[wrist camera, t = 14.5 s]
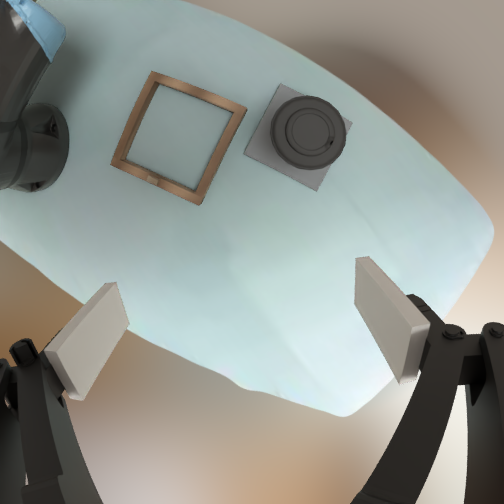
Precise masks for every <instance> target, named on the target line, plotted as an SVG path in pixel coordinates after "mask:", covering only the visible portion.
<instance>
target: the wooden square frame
mask: <svg viewBox="0 0 504 504" xmlns="http://www.w3.org/2000/svg"><path fill="white" fill-rule="evenodd" d="M159 84H161V85H164V86H167V87H170V88H173V89H175V90H178V91H181V92H183V93H186V94H189V95H191V96H194V97H196V98H199V99H201V100H204V101H206V102H209V103H211V104H213V105H216V106H218V107H221V108H223V109H225V110H227V111H230V112H232V113H233V115H232V117H231V119H230V121H229V123H228V125H227V127H226V129H225V131H224V133H223V135H222V137H221V139H220V141H219V143H218V145H217V147H216V149H215V151H214V153H213V155H212V157H211V160H210V162H209V164H208V166H207V168H206V170H205V172H204V174H203V177H202V179H201V181H200V183H199V185H198V187H197V190H196V191H194V190H192V189H190V188H188V187H186V186H183V185H181V184H179V183H177V182H175V181H173V180H170V179H168V178H166V177H164V176H162V175H159V174H157V173H155V172H153V171H151V170H148V169H146V168H144V167H142V166H139V165H137V164H135V163H133V162H130V161H128V160H126V157H127V154H128V152H129V149H130V147H131V144H132V142H133V140H134V137H135V135H136V133H137V130H138V128H139V126H140V123H141V121H142V119H143V117H144V115H145V112H146V110H147V108H148V106H149V104H150V102H151V100H152V98H153V96H154V94H155V92H156V90H157V88H158V86H159ZM246 112H247V108H246V107H244V106H242V105H239V104H237V103H235V102H233V101H230V100H228V99H226V98H223V97H221V96H218V95H216V94H214V93H211V92H209V91H206V90H204V89H201V88H198V87H196V86H193V85H191V84H188V83H185V82H182V81H180V80H177V79H174V78H171V77H168V76H165V75H162V74H159V73H156V72H153V71H151V73H150V75H149V77H148V79H147V81H146V83H145V85H144V87H143V89H142V91H141V93H140V95H139V97H138V99H137V101H136V103H135V106H134V108H133V110H132V112H131V114H130V117H129V119H128V121H127V124H126V126H125V128H124V131H123V133H122V135H121V138H120V140H119V143H118V145H117V148H116V151H115V153H114V156H113V158H112V161H111V164H110V165H112V166H114V167H116V168H118V169H121V170H123V171H125V172H127V173H129V174H131V175H134V176H136V177H138V178H140V179H142V180H145V181H147V182H149V183H151V184H153V185H155V186H158V187H160V188H162V189H164V190H166V191H168V192H170V193H173V194H175V195H177V196H179V197H181V198H183V199H185V200H188V201H190V202H192V203H194V204H196V205H198V206H199V205H200V204H201V203H202V201H203V199H204V197H205V195H206V193H207V191H208V188H209V186H210V184H211V182H212V180H213V178H214V176H215V174H216V172H217V169H218V167H219V165H220V163H221V161H222V159H223V157H224V155H225V153H226V151H227V149H228V147H229V145H230V143H231V141H232V139H233V137H234V135H235V133H236V131H237V129H238V127H239V125H240V123H241V121H242V119H243V118H244V116H245V114H246Z"/></svg>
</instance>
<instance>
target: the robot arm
mask: <svg viewBox="0 0 504 504" xmlns="http://www.w3.org/2000/svg"><path fill="white" fill-rule="evenodd" d="M65 36H66V29H65V27H64V25H63V24H62V23H61V22H60V21H59V20H58V19H57V18H56V17H54V16H53V15H52V14H51V13H49V12H48V11H47V10H45V9H44V8H43V7H41V6H40V5H38V4H37V3H35V2H34V1H32V0H0V190H2V189H5V188H10V189H14V190H19V191H23V192H36V191H39V190H43V189H45V188H47V187H49V186H50V185H52V184H53V183H54V182H55V181H56V179H57V178H58V177H59V175H60V173H61V172H62V170H63V167H64V165H65V162H66V159H67V155H68V148H69V133H68V127H67V124H66V121H65V118H64V117H63V115H62V113H61V112H60V111H59V110H58V109H57V108H56V107H54V106H52V105H49V104H42V103H35V104H31V105H28V106H26V105H27V103H28V101H29V99H30V97H31V95H32V93H33V92H34V90H35V88H36V86H37V84H38V83H39V81H40V79H41V77H42V76H43V74H44V72H45V71H46V69H47V67H48V66H49V64H51V63H52V62H53V57H54V55H55V54H56V52H57V50H58V49H59V47H60V46H61V44H62V42H63V41H64V39H65ZM354 304H355V306H356V308H357V309H358V311H359V313H360V314H361V316H362V318H363V320H364V321H365V323H366V325H367V327H368V328H369V330H370V332H371V334H372V335H373V337H374V339H375V341H376V343H377V344H378V346H379V348H380V350H381V352H382V353H383V355H384V357H385V359H386V361H387V363H388V364H389V366H390V368H391V370H392V372H393V374H394V376H395V378H396V379H397V381H398V383H399V384H403V383H407V382H411V381H414V380H416V378H417V374H418V371H419V369H420V371H421V375H420V377H419V380H418V382H417V385H416V387H415V390H414V392H413V394H412V397H411V399H410V402H409V404H408V406H407V408H406V410H405V413H404V415H403V417H402V419H401V421H400V423H399V425H398V427H397V429H396V431H395V433H394V435H393V437H392V439H391V441H390V443H389V445H388V446H387V449H386V451H385V452H384V454H383V456H382V457H381V459H380V461H379V463H378V464H377V466H376V468H375V469H374V471H373V473H372V475H371V476H370V477H369V479H368V481H367V483H366V484H365V485H364V487H363V488H362V490H361V491H360V492H359V493H358V494H357V495H356V497H355V498H354V499H353V501H352V502H351V503H350V504H415V503H416V501H417V499H418V497H419V495H420V493H421V490H422V488H423V486H424V484H425V482H426V479H427V477H428V475H429V472H430V470H431V468H432V465H433V463H434V460H435V458H436V455H437V452H438V450H439V447H440V444H441V441H442V438H443V436H444V432H445V430H446V426H447V423H448V420H449V417H450V413H451V410H452V406H453V402H454V399H455V395H456V391H457V386H458V385H465V392H466V403H467V426H468V456H467V476H466V489H465V498H464V504H504V325H503V324H500V323H496V322H490V323H487V324H485V325H484V327H483V329H482V332H481V334H469V335H467V334H466V332H465V331H464V329H462V328H461V327H459V326H457V325H453V324H445V323H444V322H443V321H442V320H441V319H440V318H439V317H438V315H437V314H436V313H435V312H434V311H433V310H432V309H431V308H430V307H429V306H427V304H426V303H425V302H424V301H423V300H422V299H421V298H419V297H418V296H416V295H414V294H410V295H405V294H404V293H403V292H402V291H401V290H400V289H399V287H398V286H397V285H396V284H395V283H394V282H393V281H392V280H391V279H390V278H389V277H388V276H387V275H386V274H385V273H384V271H383V270H382V269H381V268H380V267H379V266H378V265H377V264H376V263H375V262H374V261H373V260H372V259H371V258H370V257H369V256H368V257H360V258H356V266H355V299H354ZM129 324H130V323H129V320H128V317H127V314H126V311H125V308H124V305H123V302H122V299H121V296H120V293H119V289H118V286H117V283H116V282H113V283H105V284H104V285H103V286H102V287H101V288H100V289H99V290H98V291H97V292H96V293H95V294H94V295H93V296H92V297H91V299H90V300H89V301H88V302H87V303H86V304H85V305H84V306H83V307H82V308H81V309H80V310H79V311H78V312H77V313H76V315H75V316H74V317H73V318H72V319H71V320H70V321H69V322H68V323H67V324H66V326H65V327H64V328H62V329H61V330H60V331H59V332H58V333H57V334H56V335H55V337H53V339H52V340H51V341H50V342H49V343H48V344H47V345H46V346H45V348H44V349H43V350H42V351H41V352H40V353H39V354H38V352H37V350H36V348H35V346H34V344H33V342H32V340H31V339H29V338H28V339H26V338H25V339H22V340H20V341H18V342H16V343H14V344H13V345H12V346H11V348H10V350H9V352H10V354H11V355H12V357H13V359H14V361H15V363H16V364H17V366H15V367H10V365H9V363H8V362H7V360H6V359H4V358H3V359H0V504H103V502H102V500H101V498H100V496H99V494H98V492H97V489H96V487H95V485H94V483H93V480H92V478H91V476H90V473H89V471H88V468H87V466H86V463H85V461H84V458H83V456H82V453H81V450H80V447H79V445H78V442H77V439H76V436H75V433H74V430H73V426H72V423H71V420H70V416H69V413H68V409H67V405H66V402H65V399H64V398H63V396H62V393H63V391H64V390H66V392H67V393H68V395H69V397H70V398H71V399H77V400H82V401H83V400H84V398H85V397H86V395H87V393H88V391H89V390H90V388H91V386H92V384H93V383H94V381H95V379H96V378H97V376H98V374H99V372H100V371H101V369H102V367H103V366H104V364H105V362H106V361H107V359H108V357H109V356H110V354H111V353H112V351H113V349H114V348H115V346H116V344H117V343H118V341H119V340H120V338H121V336H122V335H123V333H124V332H125V330H126V329H127V327H128V325H129ZM5 400H6V401H7V403H8V404H9V406H8V407H7V405H6V403H5ZM26 474H27V478H28V485H26V486H25V479H26Z"/></svg>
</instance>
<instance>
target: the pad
mask: <svg viewBox="0 0 504 504" xmlns="http://www.w3.org/2000/svg"><path fill="white" fill-rule="evenodd" d="M299 96H305V95H303V94H301V93H299V92H297V91H295V90H293V89H291V88H289V87H287V86H285V85H283V84H280V86H279V88H278V90H277V91H276V93H275V95H274V97H273V99H272V101H271V102H270V104H269V106H268V108H267V110H266V112H265V114H264V116H263V117H262V119H261V121H260V123H259V125H258V127H257V129H256V131H255V133H254V135H253V137H252V139H251V141H250V142H249V144H248V146H247V148H246V150H245V152H244V154H245V155H247V156H249V157H251V158H253V159H255V160H257V161H259V162H261V163H263V164H265V165H267V166H269V167H271V168H273V169H275V170H277V171H279V172H281V173H283V174H285V175H287V176H289V177H291V178H293V179H295V180H297V181H299V182H300V183H302V184H304V185H306V186H308V187H310V188H312V189H313V190H315V191H317V190H318V188H319V186H320V184H321V183H322V181H323V179H324V177H325V175H326V173H327V171H328V169H329V168H330V166H331V164H330V165H328V166H326V167H324V168H322V169H317V170H311V171H310V170H303V169H298V168H296V167H294V166H292V165H290V164H288V163H287V162H285V161H284V160H283V159H282V158H281V157H280V156H279V155H278V153H277V152H276V150H275V148H274V146H273V144H272V140H271V135H270V129H271V121H272V119H273V117H274V115H275V113H276V111H277V110H278V109H279V108H280V107H281V105H282V104H283V103H284V102H286V101H288V100H290V99H292V98H294V97H299ZM341 117H342V116H341ZM342 119H343V120H344V123H345V128H346V133H348V131H349V129H350V127H351V125H352V122H351V121H349V120H347V119H346V118H344V117H342ZM346 135H347V134H346Z"/></svg>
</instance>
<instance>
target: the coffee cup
mask: <svg viewBox="0 0 504 504" xmlns="http://www.w3.org/2000/svg"><path fill="white" fill-rule="evenodd" d="M346 134H347V133H346V128H345V123H344V120H343V119H342V117H341V115H340V113H339V111H338V110H337V109H336V108H335V107H333V106H332V105H331V104H330V103H329V102H327V101H325V100H323V99H321V98H319V97H313V96H299V97H294V98H292V99H290V100H288V101H286V102H284V103H283V104H282V105H281V107H280V108H279V109H278V110H277V111H276V113H275V115H274V117H273V119H272V121H271V129H270V135H271V140H272V144H273V146H274V148H275V150H276V152H277V153H278V155H279V156H280V157H281V158H282V159H283V160H284V161H285V162H287V163H288V164H290V165H292V166H294V167H296V168H298V169H303V170H310V171H311V170H317V169H322V168H324V167H326V166H328V165H330V164H332V163H333V162H334V161H335V160H336V159H337V158H338V157H339V156H340V155H341V153H342V151H343V148H344V146H345V143H346Z"/></svg>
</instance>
